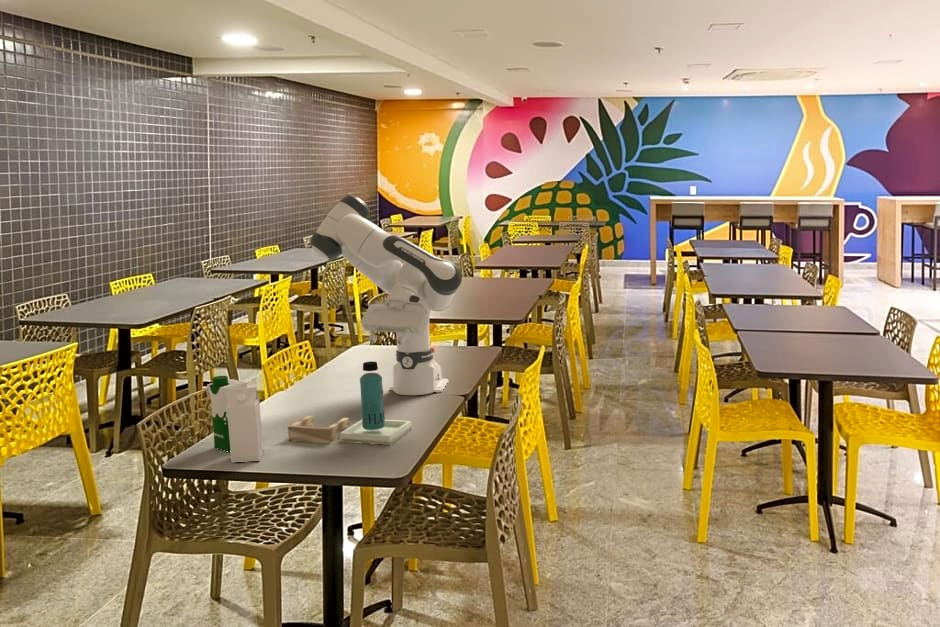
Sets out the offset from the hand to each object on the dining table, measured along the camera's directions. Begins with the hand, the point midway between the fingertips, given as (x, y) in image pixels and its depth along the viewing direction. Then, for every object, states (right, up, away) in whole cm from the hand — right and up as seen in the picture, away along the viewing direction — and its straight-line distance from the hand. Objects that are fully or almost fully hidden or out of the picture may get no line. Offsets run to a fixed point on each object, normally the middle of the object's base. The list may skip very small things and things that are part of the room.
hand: (385, 342), depth 250 cm
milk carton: (-34, -30, -21) cm, 50 cm away
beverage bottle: (-3, -25, -5) cm, 26 cm away
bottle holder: (-18, -26, -2) cm, 32 cm away
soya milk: (-41, -28, -10) cm, 51 cm away
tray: (-2, -26, -5) cm, 26 cm away
